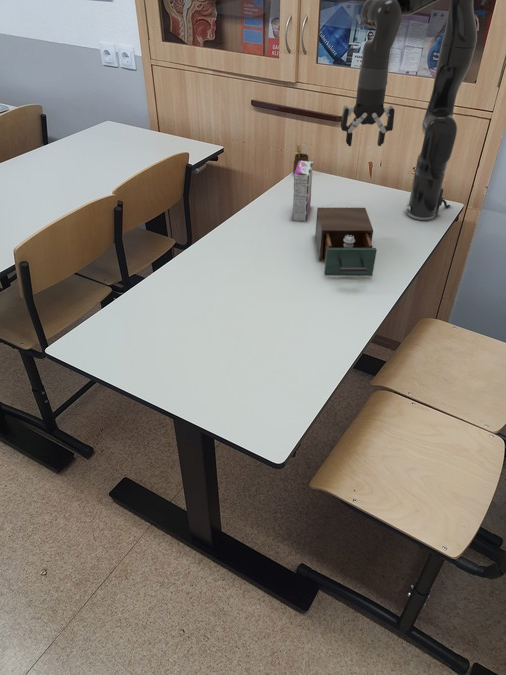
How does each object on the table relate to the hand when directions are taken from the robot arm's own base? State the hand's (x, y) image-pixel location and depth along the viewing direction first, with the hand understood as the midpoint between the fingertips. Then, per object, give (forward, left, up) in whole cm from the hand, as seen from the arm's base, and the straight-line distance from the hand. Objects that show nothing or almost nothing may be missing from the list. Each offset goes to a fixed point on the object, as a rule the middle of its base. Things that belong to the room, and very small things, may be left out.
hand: (364, 145), depth 153 cm
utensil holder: (-4, -50, -28) cm, 58 cm away
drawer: (+12, +20, -27) cm, 36 cm away
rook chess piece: (+12, +18, -26) cm, 34 cm away
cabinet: (+8, +8, -28) cm, 30 cm away
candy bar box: (+10, -18, -28) cm, 35 cm away
